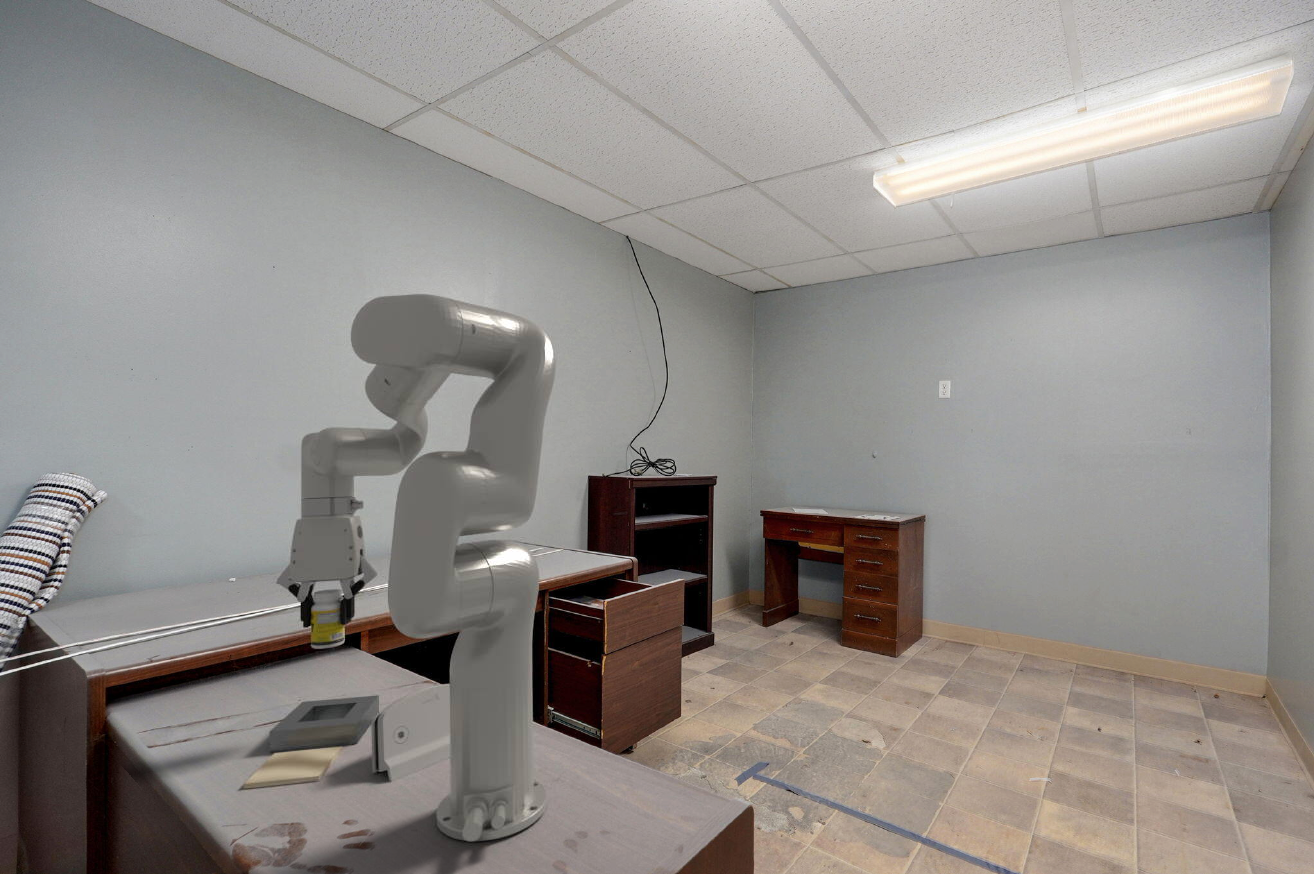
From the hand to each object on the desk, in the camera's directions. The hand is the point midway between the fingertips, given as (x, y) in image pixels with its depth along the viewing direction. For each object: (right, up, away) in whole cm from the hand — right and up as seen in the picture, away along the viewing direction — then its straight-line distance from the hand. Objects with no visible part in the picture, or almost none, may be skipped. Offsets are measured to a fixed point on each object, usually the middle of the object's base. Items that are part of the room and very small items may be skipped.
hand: (327, 623), depth 96 cm
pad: (+2, -16, -13) cm, 21 cm away
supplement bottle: (0, -4, 0) cm, 4 cm away
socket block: (0, -17, 0) cm, 17 cm away
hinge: (+20, -16, -8) cm, 27 cm away
